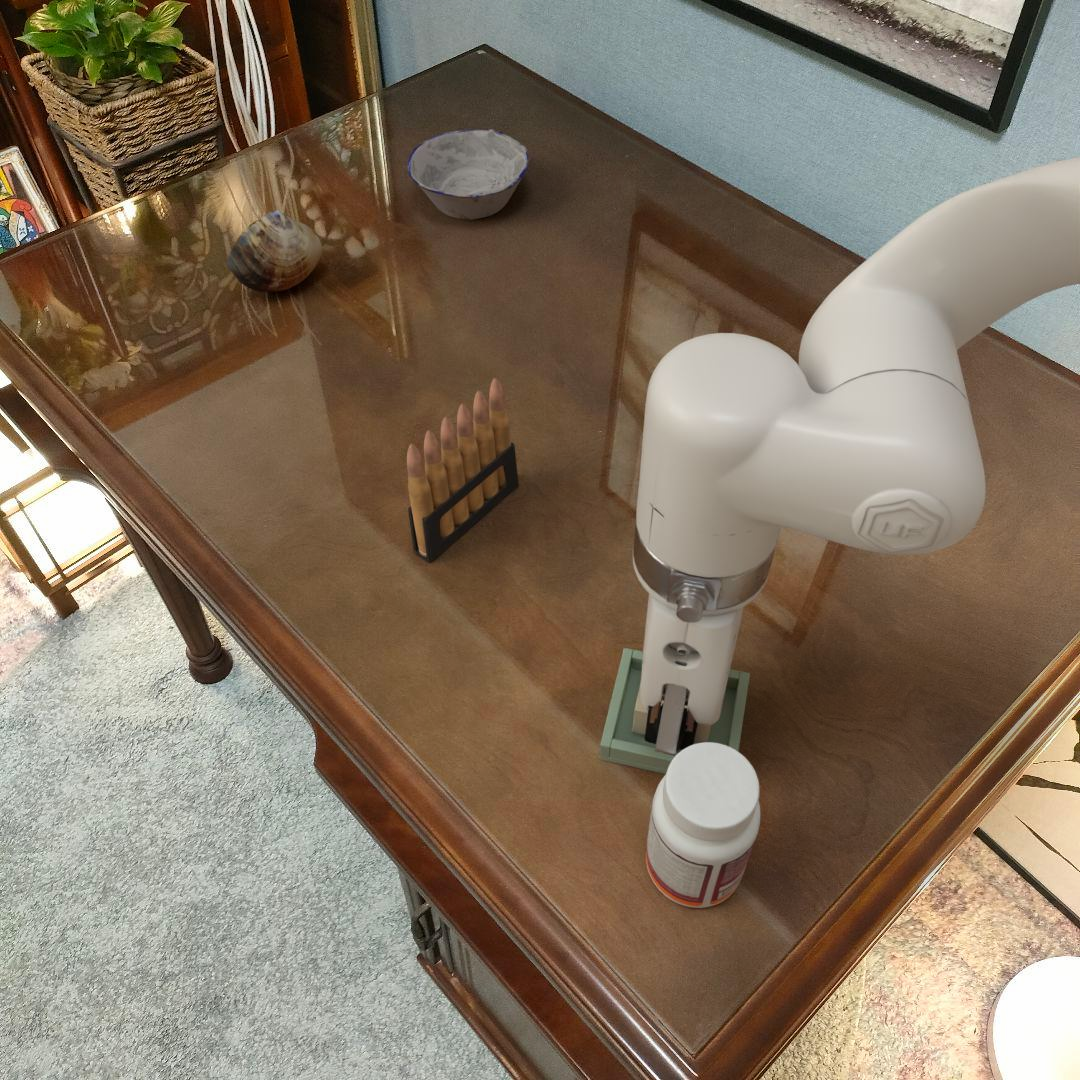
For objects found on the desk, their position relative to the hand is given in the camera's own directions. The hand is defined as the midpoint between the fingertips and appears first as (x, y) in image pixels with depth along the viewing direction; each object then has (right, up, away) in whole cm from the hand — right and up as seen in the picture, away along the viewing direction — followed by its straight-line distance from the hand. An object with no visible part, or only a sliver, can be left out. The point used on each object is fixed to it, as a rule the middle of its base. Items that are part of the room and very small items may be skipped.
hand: (674, 711), depth 69 cm
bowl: (-17, +49, +42) cm, 67 cm away
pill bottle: (+1, -9, -5) cm, 10 cm away
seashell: (-35, +37, +33) cm, 61 cm away
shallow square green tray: (0, -1, +1) cm, 2 cm away
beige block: (0, 0, 0) cm, 0 cm away
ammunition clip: (-15, +13, +14) cm, 24 cm away
